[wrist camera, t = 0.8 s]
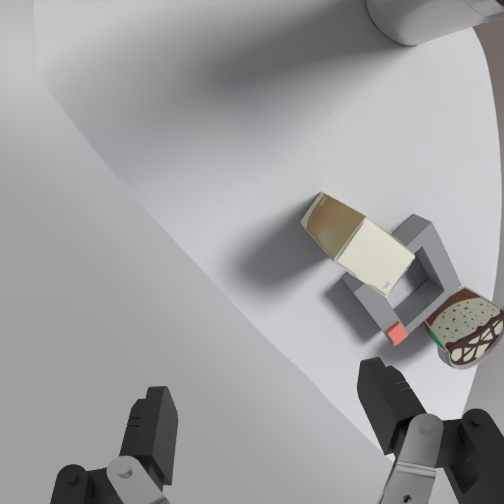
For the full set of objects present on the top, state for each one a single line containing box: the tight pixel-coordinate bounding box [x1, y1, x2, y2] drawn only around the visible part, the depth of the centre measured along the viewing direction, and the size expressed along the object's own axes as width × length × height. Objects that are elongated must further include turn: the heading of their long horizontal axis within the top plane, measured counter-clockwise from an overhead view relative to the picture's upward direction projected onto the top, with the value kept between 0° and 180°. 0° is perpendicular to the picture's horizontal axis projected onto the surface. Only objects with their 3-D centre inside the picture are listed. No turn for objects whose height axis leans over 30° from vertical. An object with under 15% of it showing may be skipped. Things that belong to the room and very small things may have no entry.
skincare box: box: [300, 192, 415, 297], centre depth 29 cm, size 6×4×12 cm
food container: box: [421, 286, 504, 370], centre depth 36 cm, size 12×6×10 cm, turn 109°
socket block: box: [342, 214, 461, 346], centre depth 36 cm, size 12×11×5 cm
